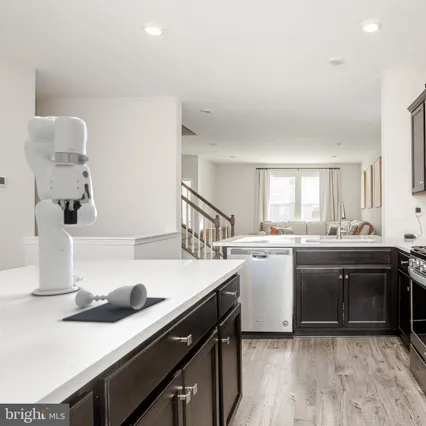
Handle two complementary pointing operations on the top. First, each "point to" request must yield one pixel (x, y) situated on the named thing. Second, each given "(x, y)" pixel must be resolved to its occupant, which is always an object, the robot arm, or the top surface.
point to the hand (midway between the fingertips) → (70, 224)
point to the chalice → (116, 297)
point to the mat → (109, 312)
